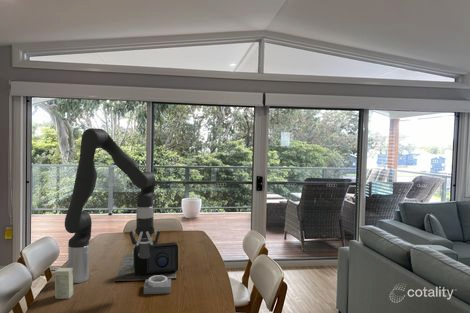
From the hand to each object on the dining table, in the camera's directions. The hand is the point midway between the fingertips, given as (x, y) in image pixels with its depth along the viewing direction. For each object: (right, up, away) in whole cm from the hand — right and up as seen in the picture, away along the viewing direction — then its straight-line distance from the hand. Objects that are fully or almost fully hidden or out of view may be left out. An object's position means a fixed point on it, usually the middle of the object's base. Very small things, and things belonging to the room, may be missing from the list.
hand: (145, 252), depth 159 cm
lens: (0, -2, 0) cm, 2 cm away
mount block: (+5, -18, +4) cm, 19 cm away
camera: (0, -17, +22) cm, 28 cm away
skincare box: (-34, -18, -6) cm, 39 cm away
